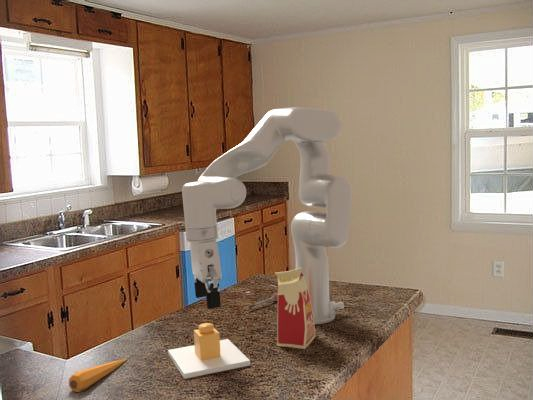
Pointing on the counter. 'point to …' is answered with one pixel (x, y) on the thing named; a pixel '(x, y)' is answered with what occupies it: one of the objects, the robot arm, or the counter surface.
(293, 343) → the milk carton
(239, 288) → the counter surface
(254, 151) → the robot arm
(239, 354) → the white plate
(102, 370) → the carrot
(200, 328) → the gold domed block
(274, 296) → the screwdriver
